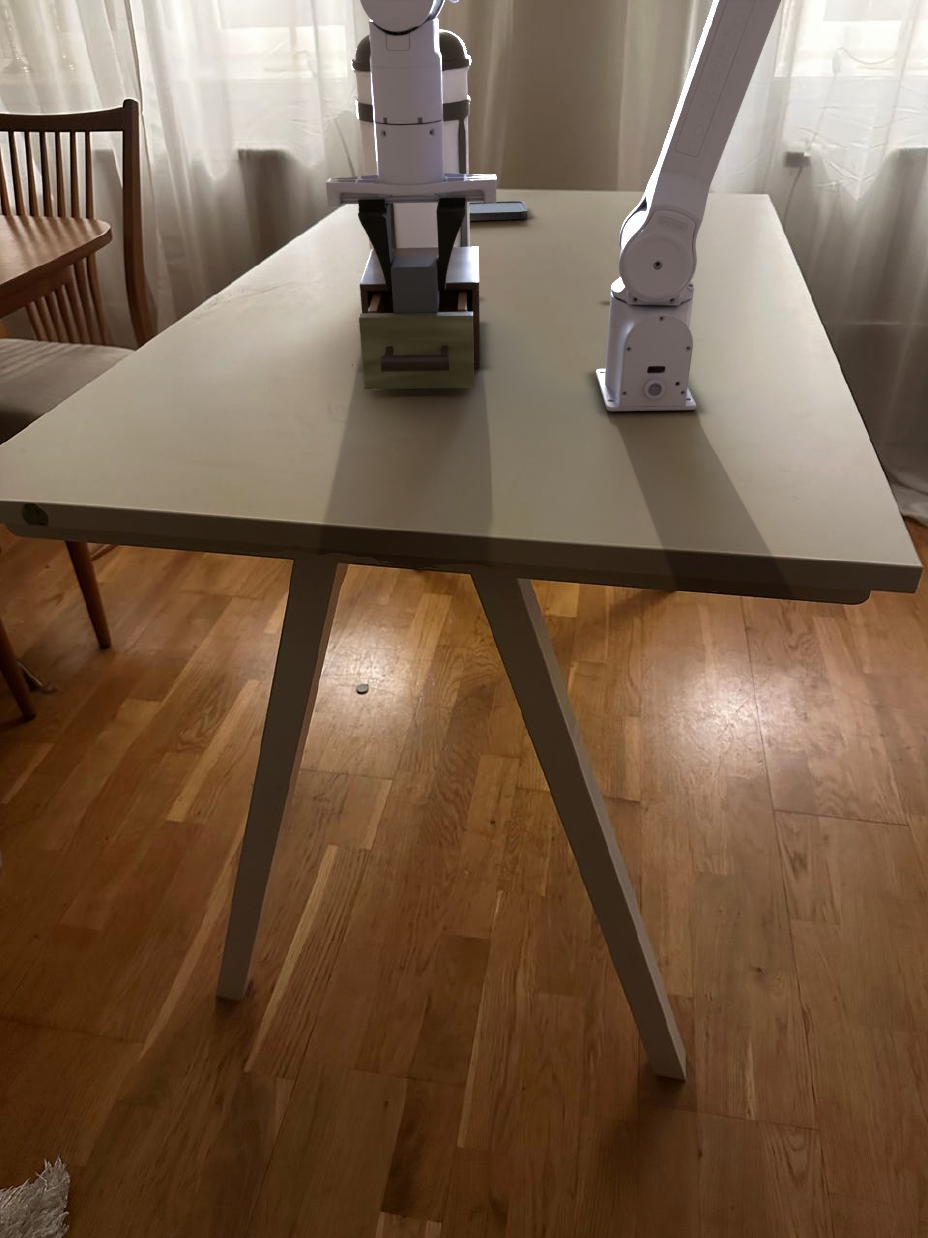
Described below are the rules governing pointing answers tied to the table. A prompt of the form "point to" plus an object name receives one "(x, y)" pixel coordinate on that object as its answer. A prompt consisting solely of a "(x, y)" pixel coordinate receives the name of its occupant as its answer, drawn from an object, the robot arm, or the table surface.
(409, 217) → the coffee press
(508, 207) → the phone
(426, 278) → the block
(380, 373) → the drawer
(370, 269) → the cabinet
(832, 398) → the table surface
